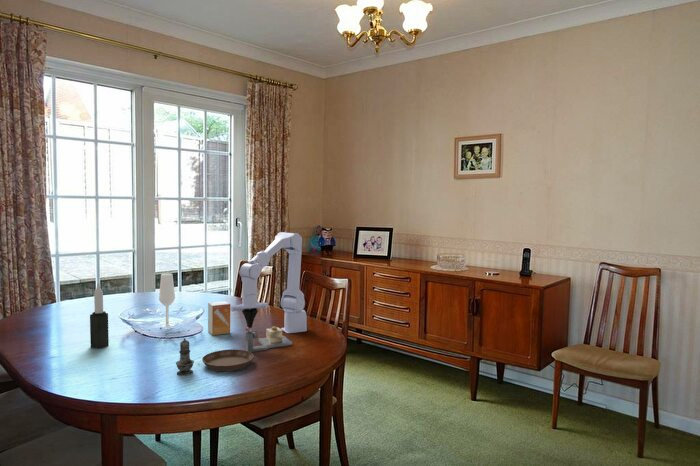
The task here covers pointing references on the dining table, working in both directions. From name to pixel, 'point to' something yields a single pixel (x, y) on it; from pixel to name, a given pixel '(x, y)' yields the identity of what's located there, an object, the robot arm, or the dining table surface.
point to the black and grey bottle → (99, 322)
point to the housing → (274, 334)
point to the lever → (255, 333)
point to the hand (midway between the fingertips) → (249, 327)
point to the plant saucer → (227, 360)
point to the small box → (219, 317)
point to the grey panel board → (264, 343)
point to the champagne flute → (167, 294)
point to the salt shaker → (184, 359)
